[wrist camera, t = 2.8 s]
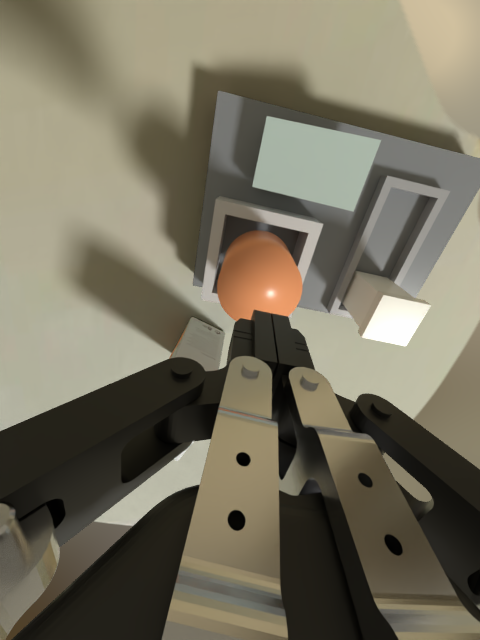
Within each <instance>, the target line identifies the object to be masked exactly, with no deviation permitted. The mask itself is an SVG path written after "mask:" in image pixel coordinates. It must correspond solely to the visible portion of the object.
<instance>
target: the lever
mask: <svg viewBox="0 0 480 640" xmlns="http://www.w3.org/2000/svg"><path fill="white" fill-rule="evenodd" d="M341 302H342V304H343V305H344V306H345V308H346V309H347V311H348V312H349V313H350V315H351V316H352V317H353V319H354V320H355V322H356V323H357V324H358V326H359V327H360V328H359V330H358V333H359V334H360V336H361V337H362V338H367V339H372V340H377V341H382V342H387V343H392V344H397V345H402V346H406V345H407V343H408V342H409V340H410V339H411V337H412V335H413V334H414V332H415V330H416V329H417V327H418V326H419V324H420V322H421V321H422V319H423V318H424V316H425V314H426V313H427V311H428V310H429V308H430V306H431V305H430V304H429V303H428V302H426V301H425V300H421V299H416V298H414V297H413V296H411V295H410V294H409V293H407V292H406V291H405V290H403V289H402V288H401V287H399V286H398V285H397V284H395V283H394V282H393V281H391V280H390V279H389V278H387V277H382V276H378V275H373V274H368V273H364V272H359V271H355V272H354V274H353V276H352V279H351V281H350V283H349V285H348V288H347V290H346V292H345V295H344V297H343V299H342V301H341Z"/></svg>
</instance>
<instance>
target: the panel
mask: <svg viewBox="0 0 480 640" xmlns="http://www.w3.org/2000/svg"><path fill="white" fill-rule="evenodd" d="M267 116H269V117H274V118H279V119H284V120H288V121H293V122H298V123H303V124H307V125H312V126H317V127H321V128H326V129H331V130H336V131H340V132H345V133H350V134H354V135H359V136H364V137H369V138H373V139H378V140H381V142H380V145H379V148H378V150H377V153H376V155H375V158H374V160H373V163H372V166H371V168H370V171H369V173H368V176H367V178H366V181H365V184H364V186H363V189H362V191H361V194H360V196H359V199H358V201H357V204H356V207H355V209H354V212H353V211H349V210H345V209H341V208H337V207H333V206H329V205H325V204H320V203H316V202H312V201H308V200H304V199H300V198H296V197H292V196H288V195H284V194H280V193H275V192H271V191H267V190H263V189H259V188H255V187H252V185H253V181H254V176H255V171H256V166H257V161H258V156H259V152H260V147H261V142H262V137H263V132H264V127H265V122H266V118H267ZM479 188H480V158H477V157H473V156H469V155H465V154H461V153H457V152H454V151H450V150H446V149H442V148H438V147H434V146H430V145H427V144H423V143H419V142H415V141H411V140H407V139H403V138H400V137H396V136H392V135H388V134H384V133H380V132H377V131H373V130H369V129H365V128H361V127H357V126H353V125H350V124H346V123H342V122H338V121H334V120H330V119H326V118H323V117H319V116H315V115H311V114H307V113H303V112H300V111H296V110H292V109H288V108H284V107H280V106H276V105H273V104H269V103H265V102H261V101H257V100H253V99H249V98H246V97H242V96H238V95H234V94H230V93H226V92H222V91H219V90H218V94H217V102H216V110H215V117H214V125H213V133H212V140H211V148H210V156H209V163H208V171H207V179H206V187H205V194H204V202H203V210H202V217H201V225H200V233H199V240H198V248H197V256H196V264H195V271H194V279H193V285H194V286H198V287H202V294H201V300H205V301H210V302H215V303H220V301H219V298H218V294H217V282H218V278H219V274H220V271H221V268H222V264H223V261H224V258H225V254H226V252H227V249H228V248H229V246H230V244H231V243H232V242H233V241H234V240H235V239H236V238H237V237H239V236H240V235H242V234H244V233H246V232H249V231H255V230H262V231H267V232H270V233H273V234H275V235H276V236H278V237H279V238H280V239H281V240H282V241H283V242H284V243H285V245H286V246H287V248H288V250H289V252H290V254H291V256H292V258H293V260H294V262H295V264H296V266H297V268H298V270H299V272H300V274H301V278H302V295H301V298H300V301H299V303H298V305H297V307H301V308H306V309H310V310H315V311H320V312H325V313H329V314H333V315H338V316H343V317H348V318H353V317H352V316H351V315H350V313H349V312H348V311H347V309H346V308H345V306H344V305H343V304H342V302H341V301H342V299H343V297H344V295H345V292H346V290H347V288H348V285H349V283H350V281H351V279H352V276H353V274H354V272H355V271H359V272H364V273H368V274H373V275H378V276H382V277H387V278H389V279H390V280H391V281H393V282H394V283H395V284H397V285H398V286H399V287H401V288H402V289H403V290H405V291H406V292H407V293H409V294H410V295H411V296H413V297H414V298H416V296H417V295H418V293H419V291H420V289H421V288H422V286H423V284H424V283H425V281H426V279H427V277H428V276H429V274H430V272H431V271H432V269H433V267H434V265H435V264H436V262H437V260H438V259H439V257H440V255H441V253H442V252H443V250H444V248H445V247H446V245H447V243H448V241H449V240H450V238H451V236H452V234H453V233H454V231H455V229H456V228H457V226H458V224H459V222H460V221H461V219H462V217H463V216H464V214H465V212H466V210H467V209H468V207H469V205H470V204H471V202H472V200H473V198H474V197H475V195H476V193H477V191H478V190H479ZM292 314H293V312H292V313H291V314H290V315H289V316H288V317H289V318H291V317H292Z"/></svg>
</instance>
